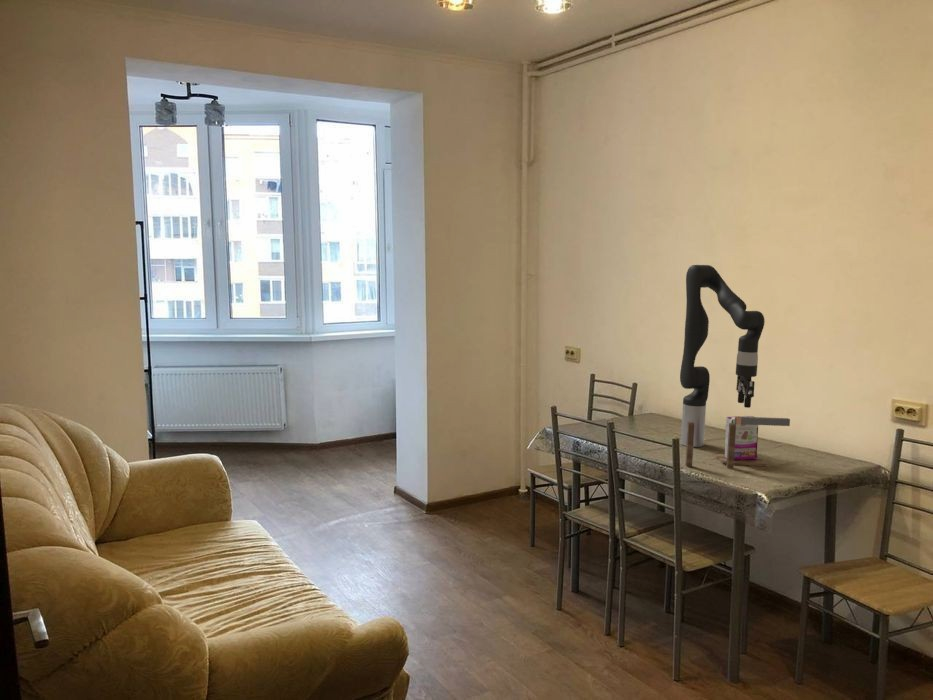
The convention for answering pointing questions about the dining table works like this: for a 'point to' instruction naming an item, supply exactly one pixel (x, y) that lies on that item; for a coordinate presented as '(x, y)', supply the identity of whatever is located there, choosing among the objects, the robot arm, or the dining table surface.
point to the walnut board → (741, 461)
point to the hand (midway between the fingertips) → (743, 405)
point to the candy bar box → (743, 440)
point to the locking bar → (762, 421)
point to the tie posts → (729, 451)
